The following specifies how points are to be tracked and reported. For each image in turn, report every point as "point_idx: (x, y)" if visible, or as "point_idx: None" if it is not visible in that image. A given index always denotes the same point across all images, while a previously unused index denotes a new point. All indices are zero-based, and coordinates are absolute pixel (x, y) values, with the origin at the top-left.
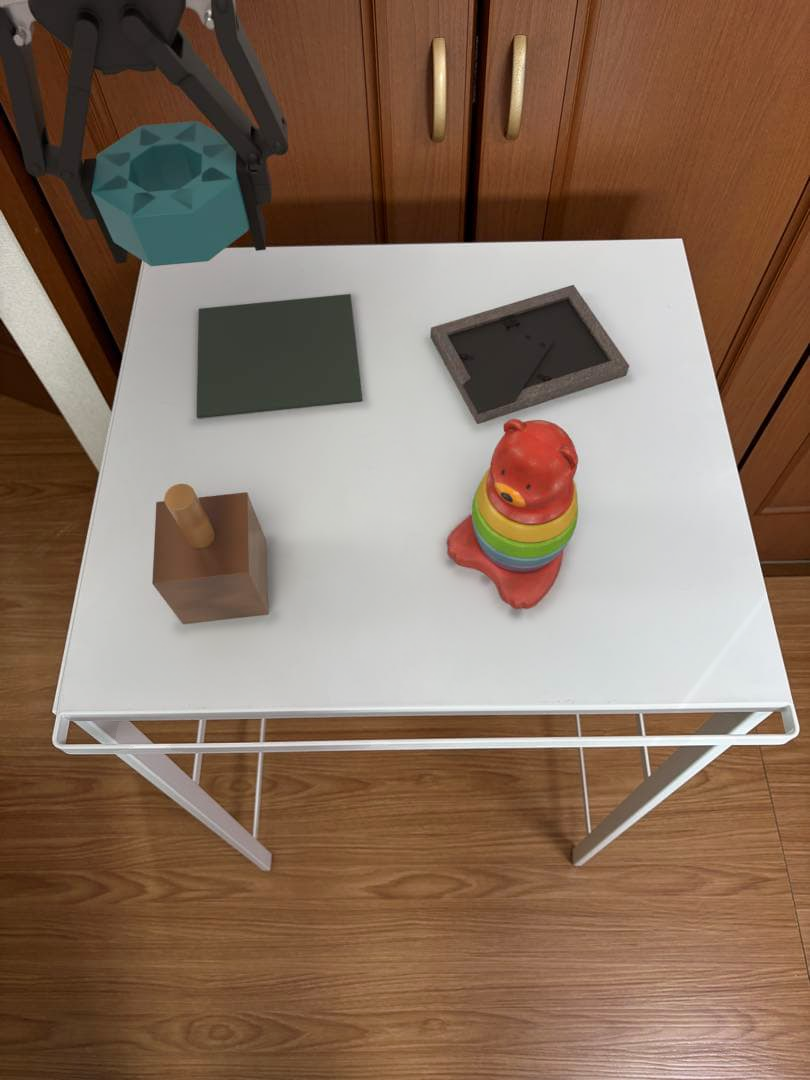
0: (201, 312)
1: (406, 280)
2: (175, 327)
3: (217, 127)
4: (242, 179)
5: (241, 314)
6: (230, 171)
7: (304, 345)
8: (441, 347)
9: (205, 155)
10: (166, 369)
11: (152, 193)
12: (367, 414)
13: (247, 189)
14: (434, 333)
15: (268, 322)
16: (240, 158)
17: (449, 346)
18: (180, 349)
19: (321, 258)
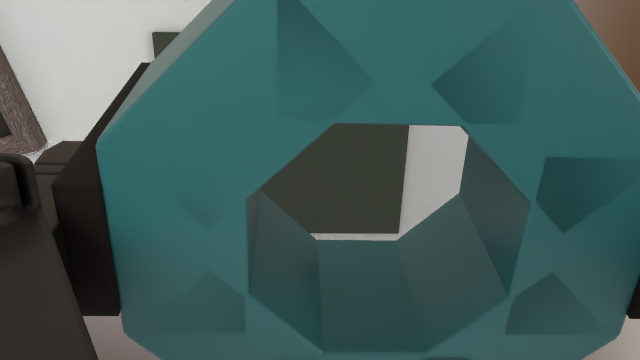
0: (394, 226)
1: None
2: (434, 207)
3: (70, 318)
4: (90, 166)
5: (336, 216)
6: (127, 195)
7: None
8: (19, 109)
9: (234, 287)
10: (455, 135)
11: (445, 112)
12: (144, 4)
13: (93, 147)
14: (32, 138)
15: (297, 197)
16: (91, 252)
17: (5, 109)
18: (431, 168)
19: None
